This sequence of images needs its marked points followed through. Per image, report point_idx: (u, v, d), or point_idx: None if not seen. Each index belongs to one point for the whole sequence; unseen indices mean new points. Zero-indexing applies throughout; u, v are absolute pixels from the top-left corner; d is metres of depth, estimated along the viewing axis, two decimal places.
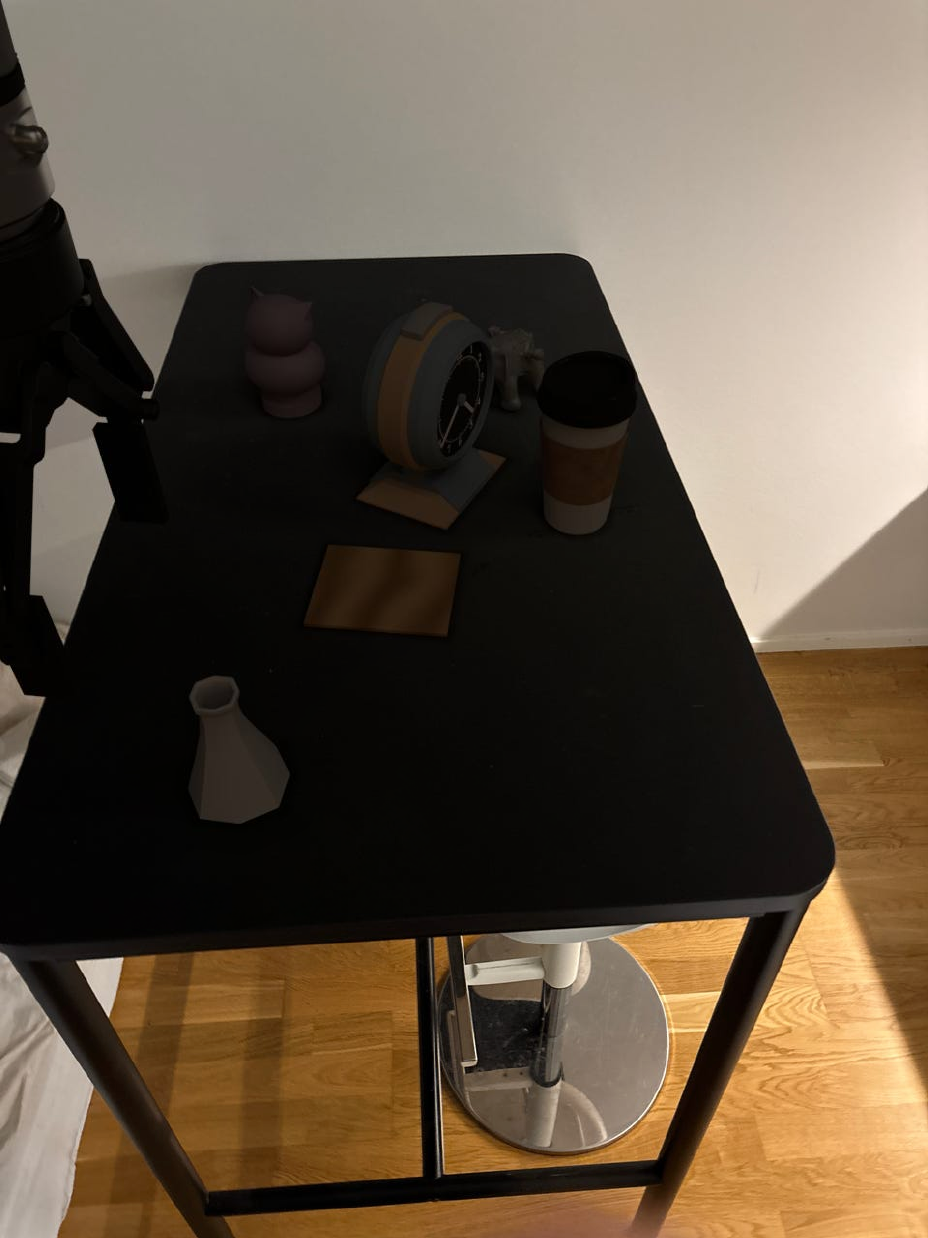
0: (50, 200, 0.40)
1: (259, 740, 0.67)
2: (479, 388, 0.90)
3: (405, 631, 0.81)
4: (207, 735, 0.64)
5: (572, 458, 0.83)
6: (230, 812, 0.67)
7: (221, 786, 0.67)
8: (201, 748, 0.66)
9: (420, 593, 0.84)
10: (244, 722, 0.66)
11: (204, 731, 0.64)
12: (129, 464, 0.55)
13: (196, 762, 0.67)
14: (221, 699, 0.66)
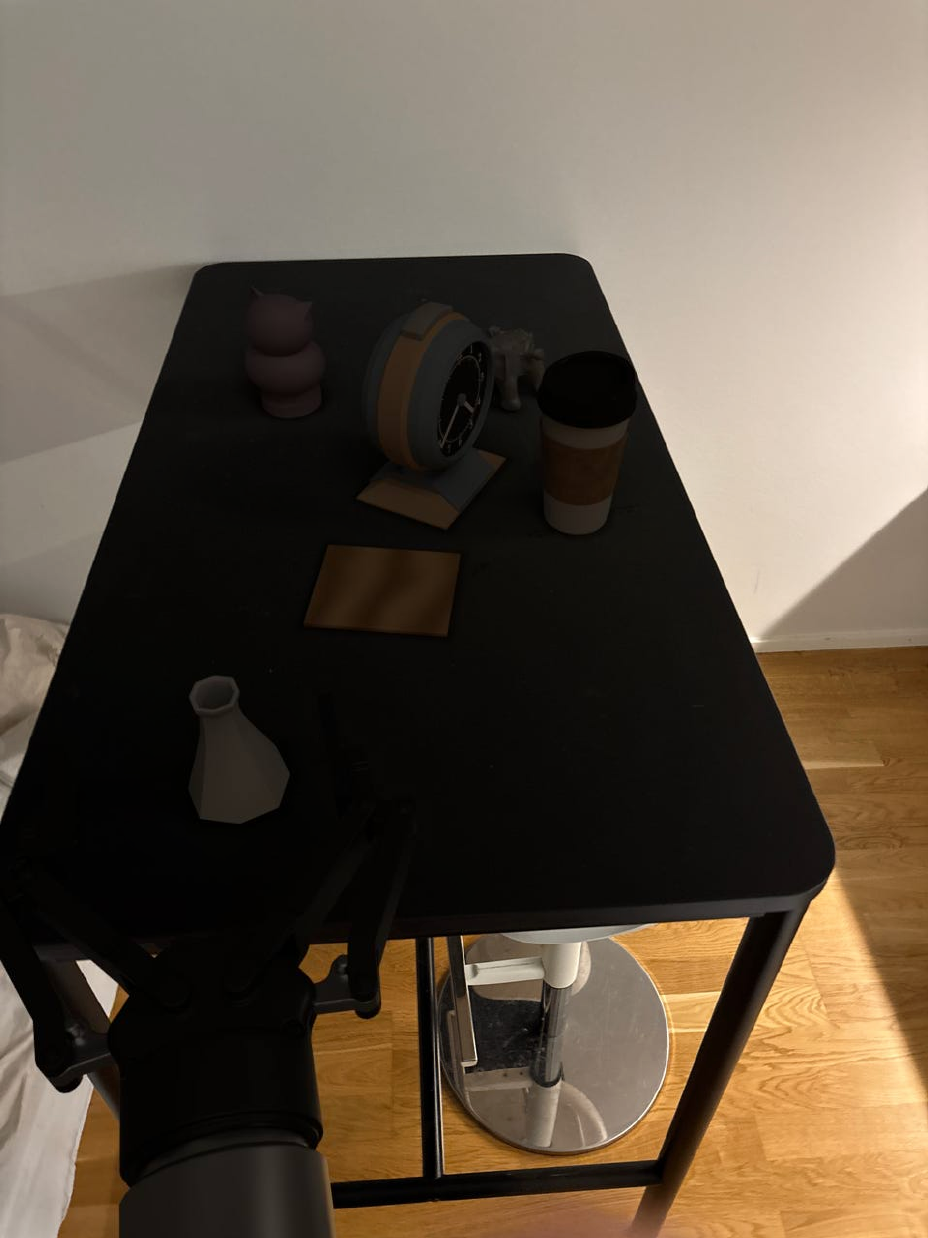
0: None
1: (259, 740, 0.67)
2: (479, 388, 0.90)
3: (405, 631, 0.81)
4: (207, 735, 0.64)
5: (572, 458, 0.83)
6: (230, 812, 0.67)
7: (221, 786, 0.67)
8: (201, 748, 0.66)
9: (420, 593, 0.84)
10: (244, 722, 0.66)
11: (204, 731, 0.64)
12: None
13: (196, 762, 0.67)
14: (221, 699, 0.66)
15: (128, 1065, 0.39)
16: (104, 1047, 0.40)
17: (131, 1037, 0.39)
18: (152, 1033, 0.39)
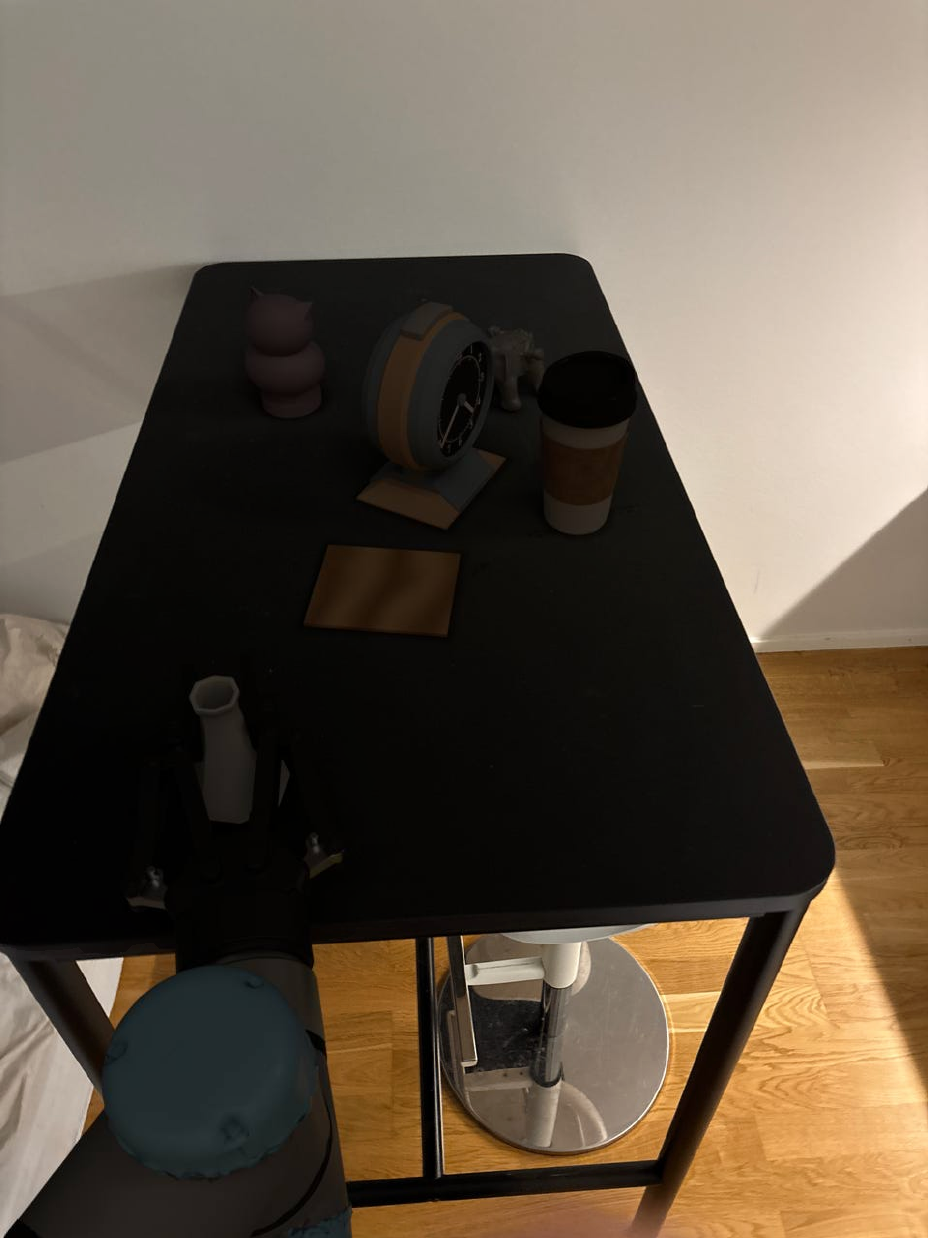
0: None
1: None
2: (479, 388, 0.90)
3: (405, 631, 0.81)
4: (207, 735, 0.64)
5: (572, 458, 0.83)
6: (230, 812, 0.67)
7: (221, 786, 0.67)
8: None
9: (420, 593, 0.84)
10: (244, 722, 0.66)
11: (204, 731, 0.64)
12: None
13: (196, 762, 0.67)
14: (221, 699, 0.66)
15: (179, 916, 0.56)
16: (163, 895, 0.57)
17: (178, 897, 0.56)
18: (195, 896, 0.56)
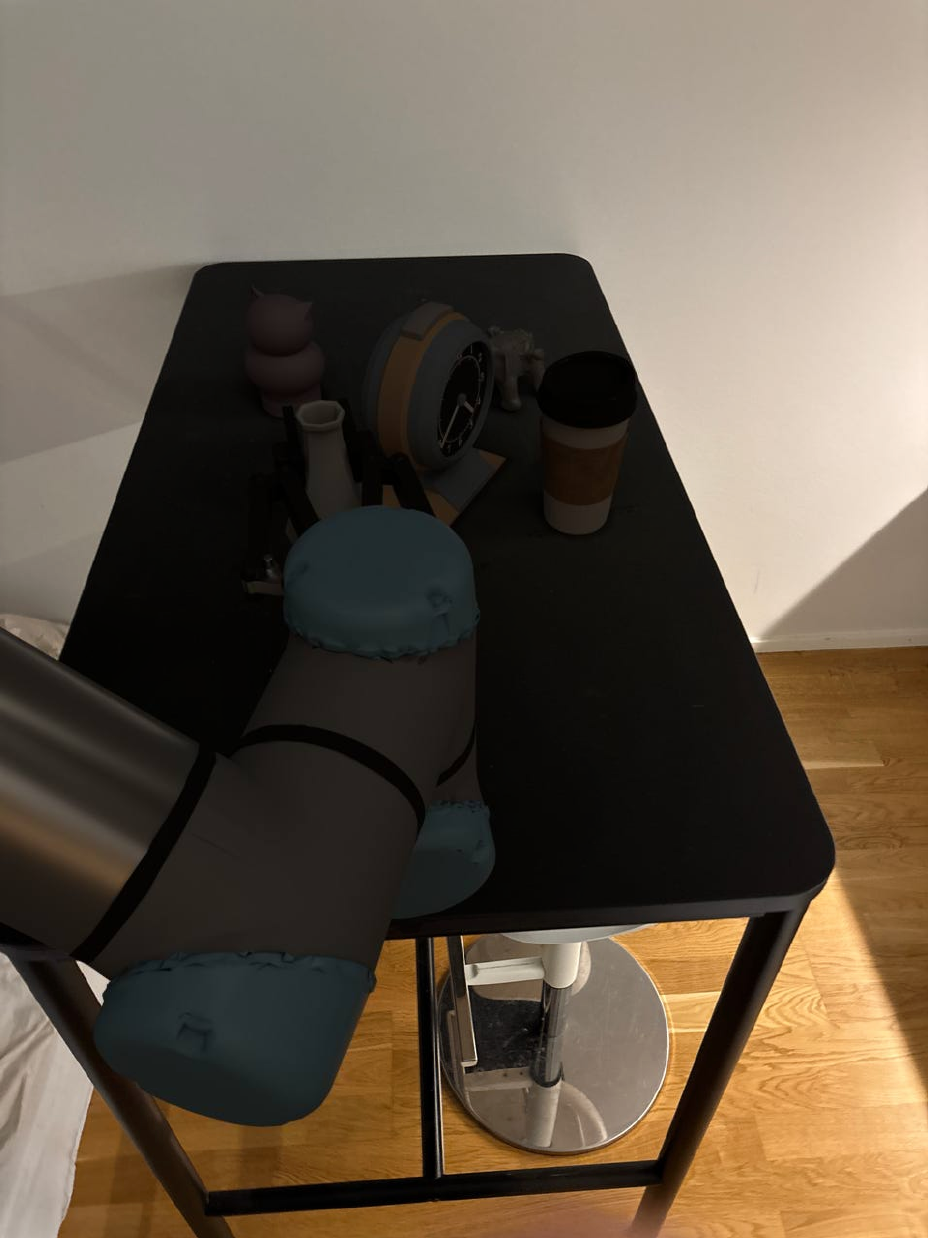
0: None
1: None
2: (479, 388, 0.90)
3: None
4: (311, 458, 0.66)
5: (572, 458, 0.83)
6: None
7: (322, 517, 0.68)
8: None
9: None
10: (346, 451, 0.67)
11: (309, 454, 0.66)
12: None
13: None
14: None
15: None
16: (280, 580, 0.58)
17: None
18: None
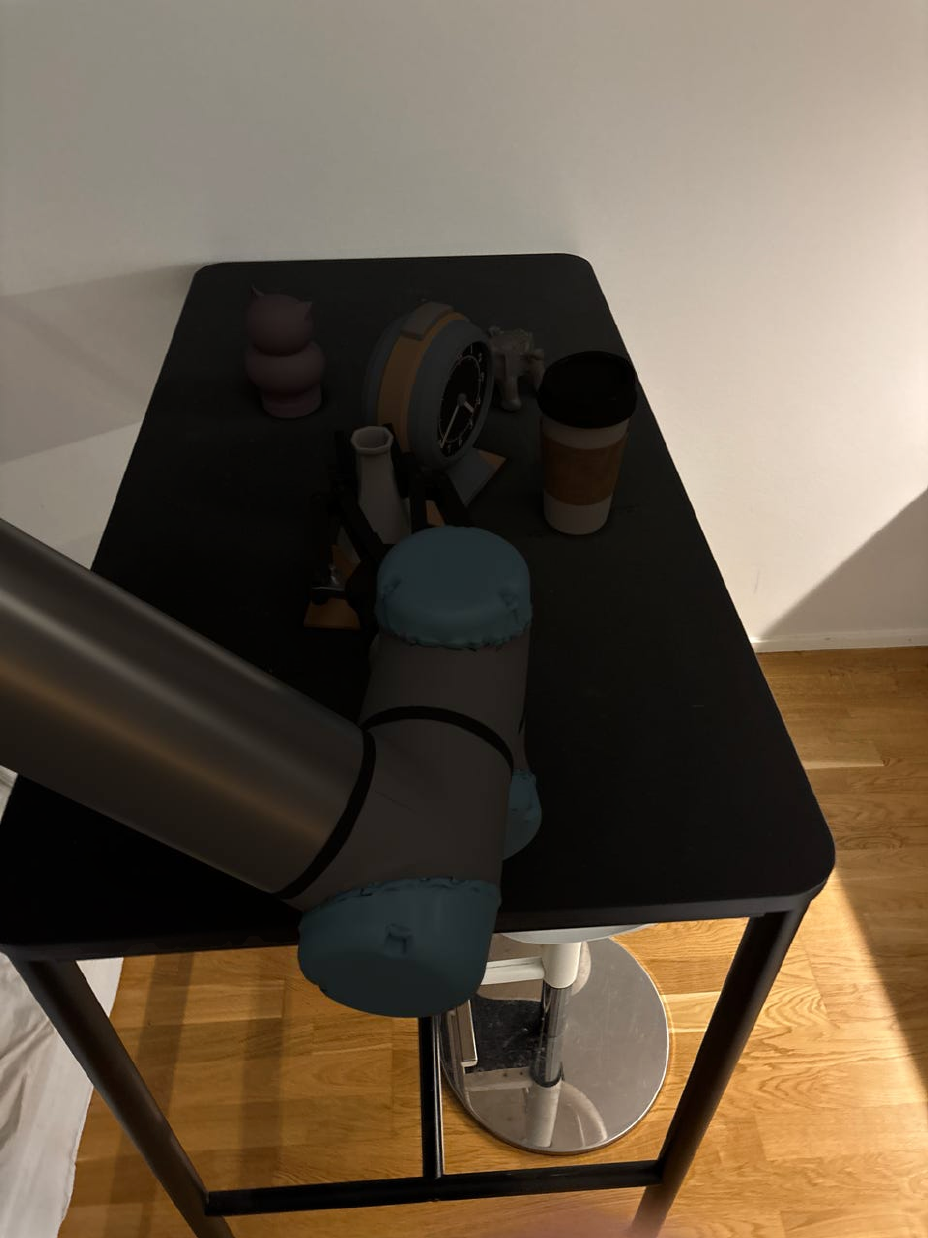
0: None
1: None
2: (479, 388, 0.90)
3: None
4: (363, 477, 0.74)
5: (572, 458, 0.83)
6: None
7: None
8: None
9: None
10: (394, 471, 0.76)
11: (361, 474, 0.74)
12: None
13: None
14: None
15: (361, 596, 0.66)
16: (343, 586, 0.67)
17: (358, 584, 0.66)
18: (373, 583, 0.66)
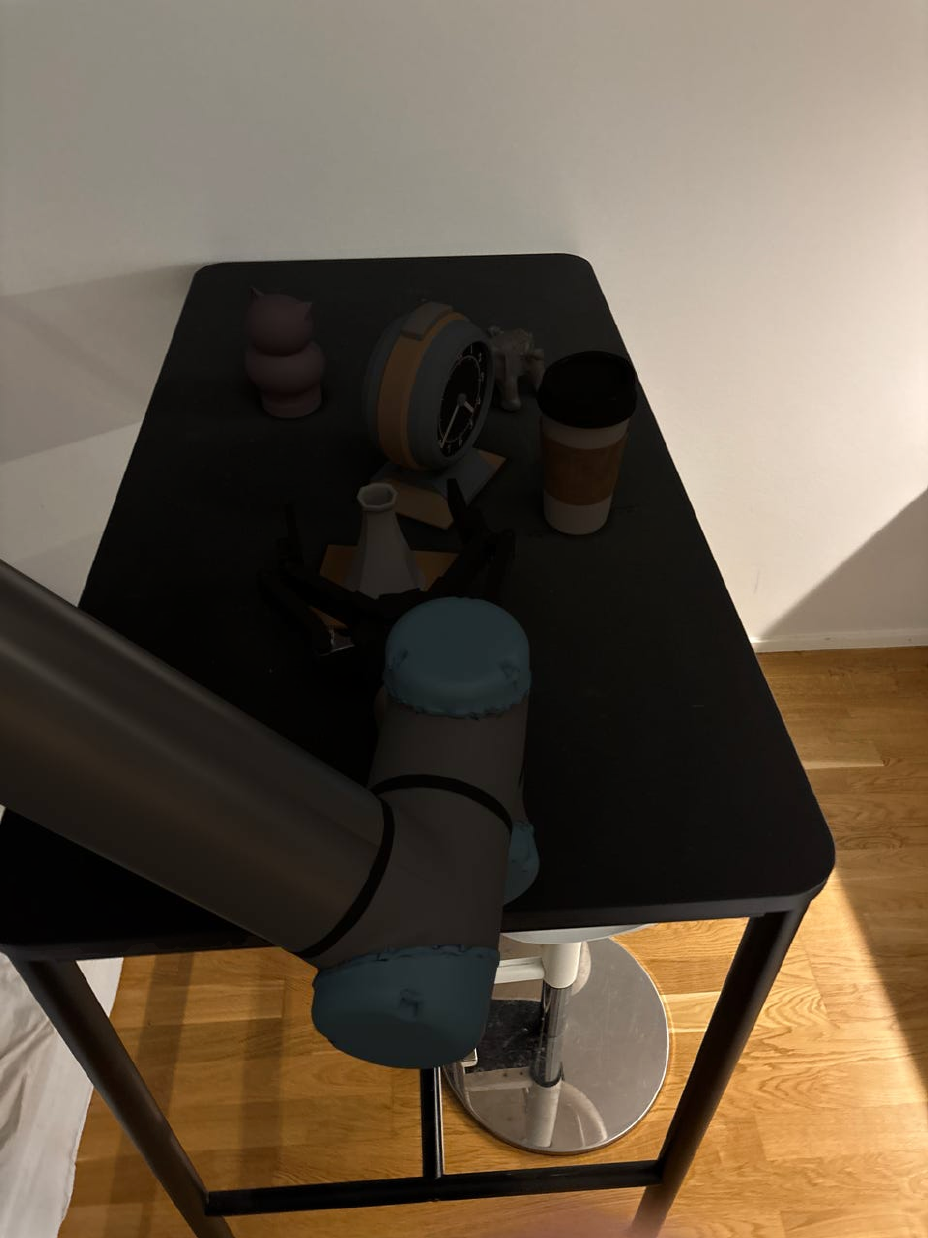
0: None
1: (406, 543, 0.81)
2: (479, 388, 0.90)
3: None
4: (369, 532, 0.78)
5: (572, 458, 0.83)
6: None
7: (376, 580, 0.80)
8: (361, 546, 0.80)
9: None
10: (397, 524, 0.79)
11: (367, 528, 0.78)
12: (459, 525, 0.80)
13: (354, 562, 0.81)
14: (378, 505, 0.80)
15: (366, 646, 0.69)
16: (349, 642, 0.70)
17: (366, 634, 0.69)
18: (377, 633, 0.69)
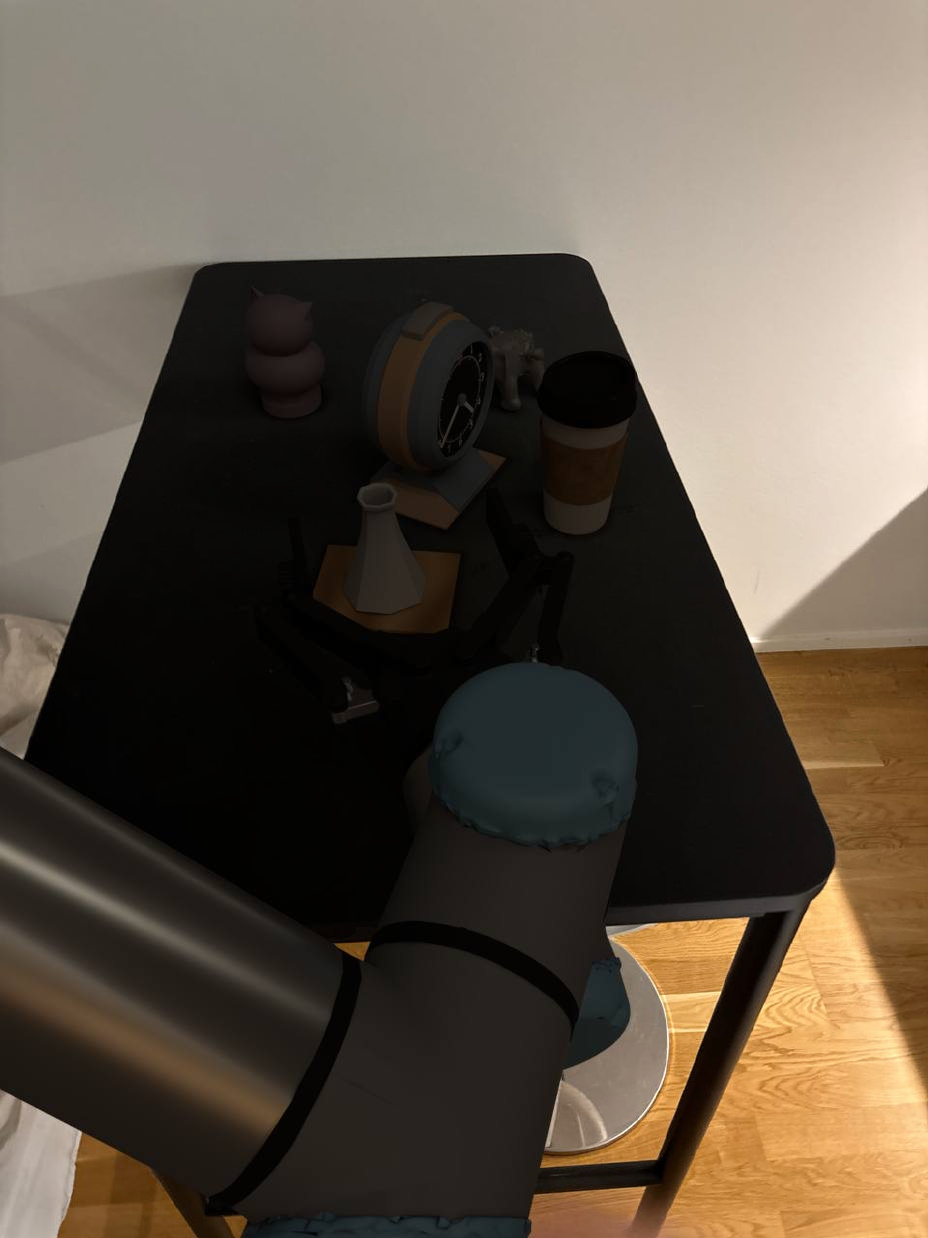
0: None
1: (406, 543, 0.81)
2: (479, 388, 0.90)
3: (405, 631, 0.81)
4: (369, 532, 0.78)
5: (572, 458, 0.83)
6: (382, 603, 0.81)
7: (376, 580, 0.80)
8: (361, 546, 0.80)
9: None
10: (397, 524, 0.79)
11: (367, 528, 0.78)
12: (502, 546, 0.65)
13: (354, 562, 0.81)
14: (378, 505, 0.80)
15: (392, 704, 0.54)
16: (370, 697, 0.55)
17: (391, 688, 0.55)
18: (406, 686, 0.55)
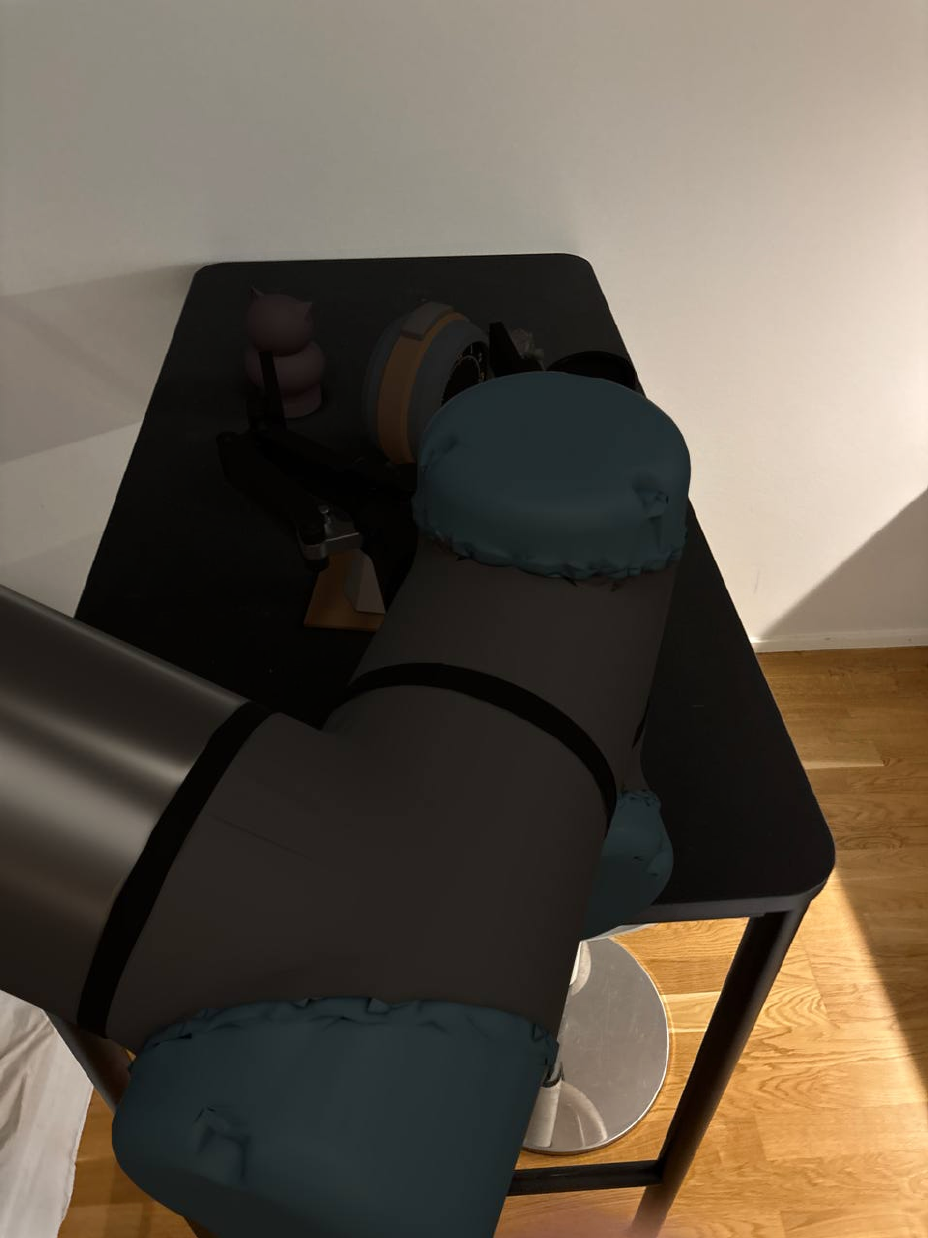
0: None
1: None
2: None
3: None
4: None
5: None
6: (382, 603, 0.81)
7: (376, 580, 0.80)
8: None
9: None
10: None
11: None
12: None
13: (354, 562, 0.81)
14: None
15: (377, 533, 0.45)
16: (352, 529, 0.46)
17: (377, 516, 0.46)
18: None
